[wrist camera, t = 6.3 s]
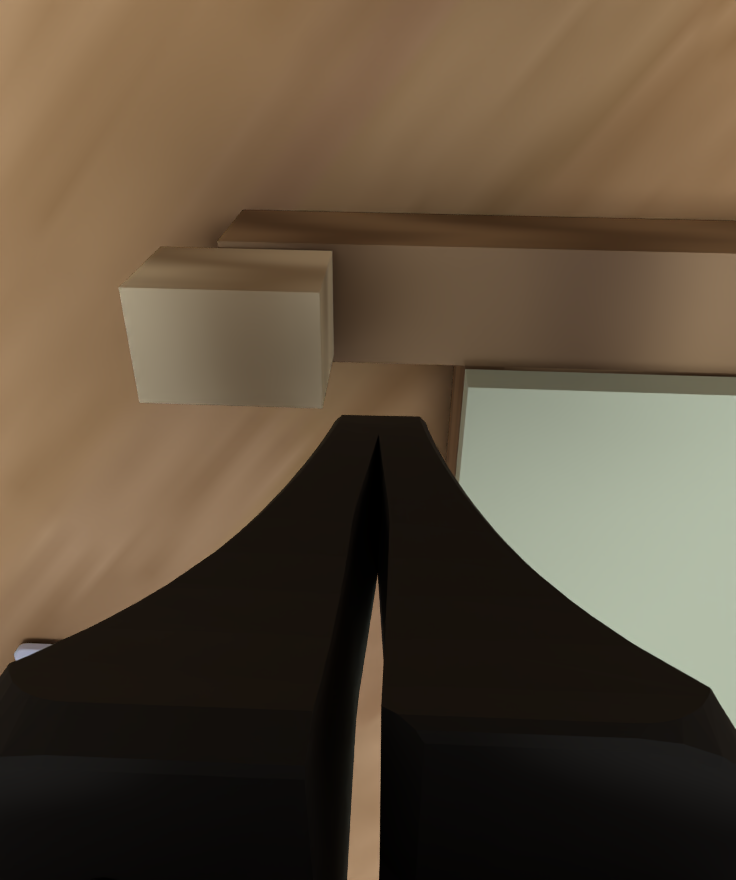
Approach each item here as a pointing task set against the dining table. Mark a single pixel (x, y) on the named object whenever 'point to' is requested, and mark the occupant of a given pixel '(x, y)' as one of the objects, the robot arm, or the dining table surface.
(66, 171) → the dining table surface
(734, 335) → the brown wooden tray
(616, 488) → the lid
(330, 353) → the pale grey block
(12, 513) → the dining table surface
